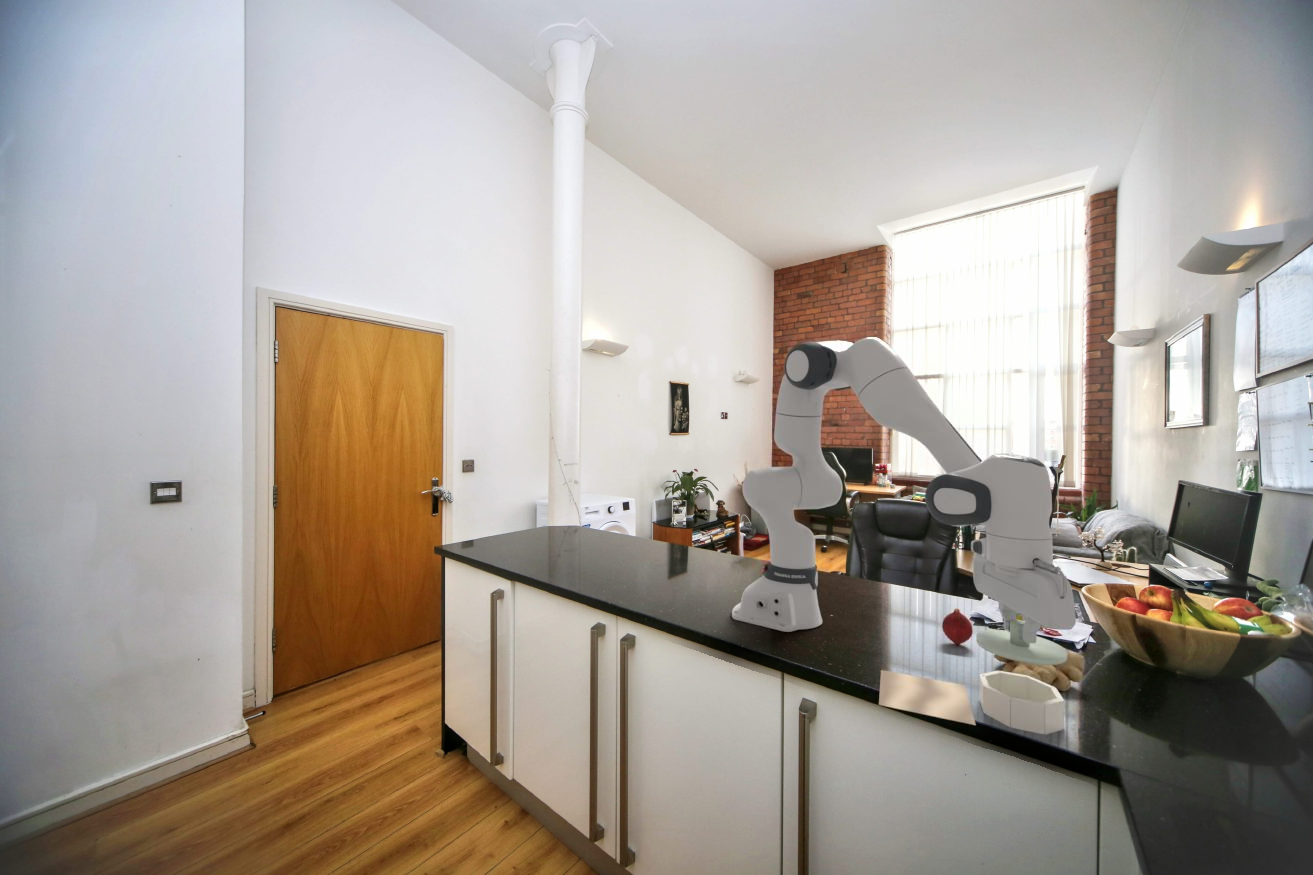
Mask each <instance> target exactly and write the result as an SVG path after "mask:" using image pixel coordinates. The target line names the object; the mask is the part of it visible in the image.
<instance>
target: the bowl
mask: <svg viewBox="0 0 1313 875" xmlns="http://www.w3.org/2000/svg"><path fill="white" fill-rule="evenodd" d="M979 702H980V706H981V709H982V712H983V713H984V714H985V715H986V716H989V717H990V718H992V719H994V720H996V721H998V722H999V723H1001V724H1003V725H1005V726H1007V727H1008V728H1011V729H1017V730H1021V731H1025V732H1030V733H1034V734H1039V735H1049V734H1053V733H1055V732H1060V731H1063V730H1065V700H1064V699H1063V696H1062V695H1061V693H1060V692H1059V690H1057V689H1056V688H1055V687H1053V686H1051V685H1049V684H1046V683H1044V682H1042V681H1039V680H1037V679H1035V678H1033V677H1030V676H1027V675H1022V674H1016V673H1010V672H1004V671H1002V670H994V671H989V672H985V673H979Z"/></svg>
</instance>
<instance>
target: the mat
mask: <svg viewBox="0 0 1313 875" xmlns="http://www.w3.org/2000/svg"><path fill="white" fill-rule="evenodd" d="M879 678H880V681H879V683H880V684H879V695H878V696H879V698H878V706H881V707H887V708H892V709H894V710H901V711H905V712H911V713H914V714H919V715H923V716H924V715H925V716H929V717H935V718H938V719H943V720H948V721H953V722H957V723H963V724H967V725H972V726H976V725H977V724H976V721H975V717H974V714H973V711H972V706H971V703H970V700H969V696H968V692H967V690H966V686H965V684H959V683H954V682H949V681H943V680H940V679H939V680H937V679H933V678H926V677H922V676H915V675H911V674H905V673H900V672H899V673H898V672H893V671H890V670H889V671H888V670H883V669H881V670H880V677H879Z"/></svg>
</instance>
